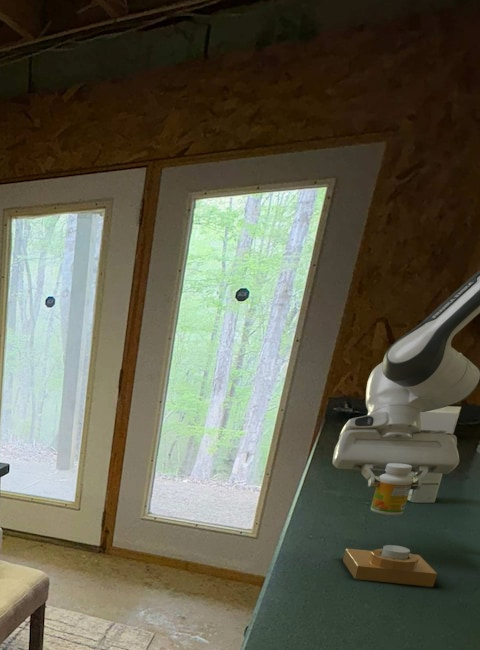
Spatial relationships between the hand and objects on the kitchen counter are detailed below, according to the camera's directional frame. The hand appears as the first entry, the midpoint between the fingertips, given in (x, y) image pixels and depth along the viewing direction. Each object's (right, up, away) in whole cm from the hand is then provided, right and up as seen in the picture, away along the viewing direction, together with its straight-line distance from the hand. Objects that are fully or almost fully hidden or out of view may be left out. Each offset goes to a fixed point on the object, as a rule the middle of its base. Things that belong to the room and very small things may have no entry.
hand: (394, 487), depth 125 cm
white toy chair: (+105, +34, +115) cm, 160 cm away
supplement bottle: (+1, -5, +3) cm, 6 cm away
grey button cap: (-6, -14, -7) cm, 17 cm away
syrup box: (+39, +1, +40) cm, 56 cm away
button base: (-5, -18, -4) cm, 19 cm away
